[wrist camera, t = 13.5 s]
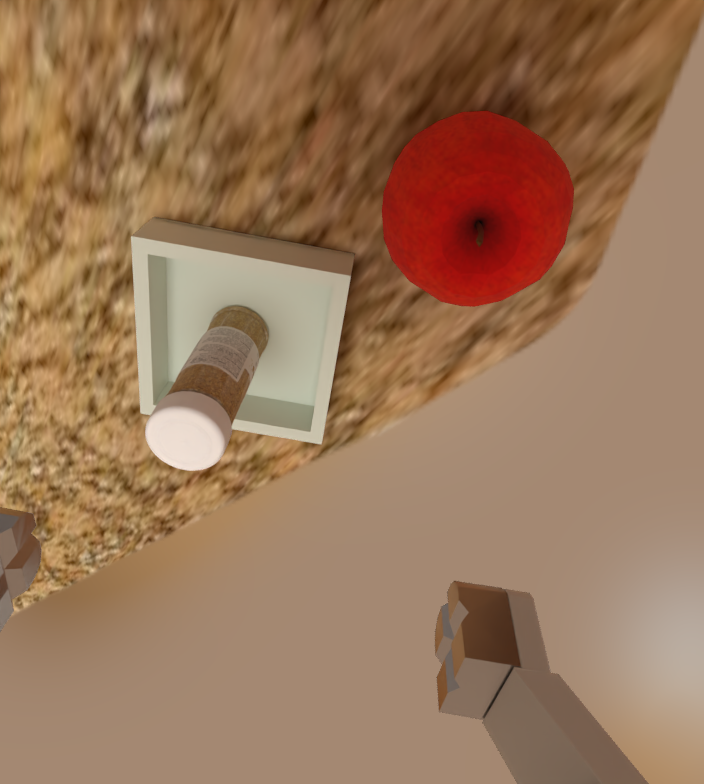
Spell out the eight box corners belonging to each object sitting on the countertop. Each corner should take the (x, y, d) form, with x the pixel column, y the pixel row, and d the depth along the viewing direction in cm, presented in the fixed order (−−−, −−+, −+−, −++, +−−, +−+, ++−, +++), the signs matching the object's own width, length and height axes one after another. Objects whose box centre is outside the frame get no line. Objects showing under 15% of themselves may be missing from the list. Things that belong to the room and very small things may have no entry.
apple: (561, 102, 34) (630, 141, 24) (523, 261, 39) (565, 348, 29) (392, 88, 34) (390, 122, 24) (378, 249, 40) (371, 331, 29)
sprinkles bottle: (252, 367, 45) (202, 485, 34) (199, 336, 44) (130, 449, 33) (281, 324, 43) (238, 436, 31) (226, 291, 41) (162, 395, 30)
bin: (153, 216, 39) (131, 236, 36) (354, 253, 40) (350, 276, 37) (158, 384, 47) (140, 413, 44) (327, 414, 48) (321, 444, 44)
